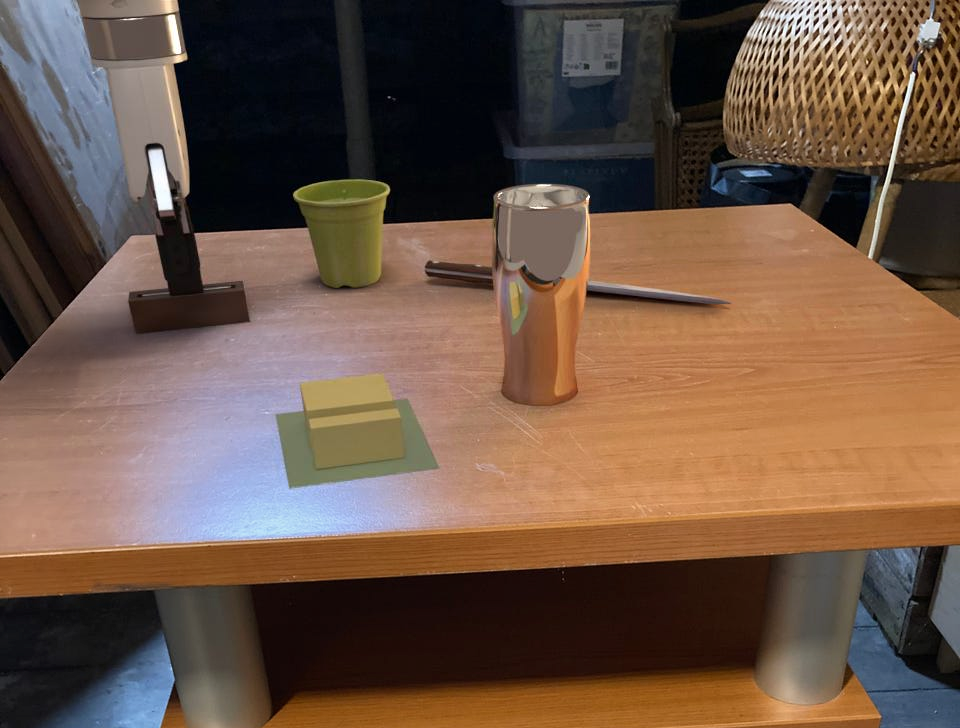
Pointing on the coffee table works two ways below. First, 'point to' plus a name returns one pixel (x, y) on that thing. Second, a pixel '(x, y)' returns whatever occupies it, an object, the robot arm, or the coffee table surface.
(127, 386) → the coffee table surface
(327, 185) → the plant pot
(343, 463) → the butter slice
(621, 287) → the steak knife
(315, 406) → the butter block
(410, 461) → the butter dish
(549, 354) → the beer glass
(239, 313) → the knife block
